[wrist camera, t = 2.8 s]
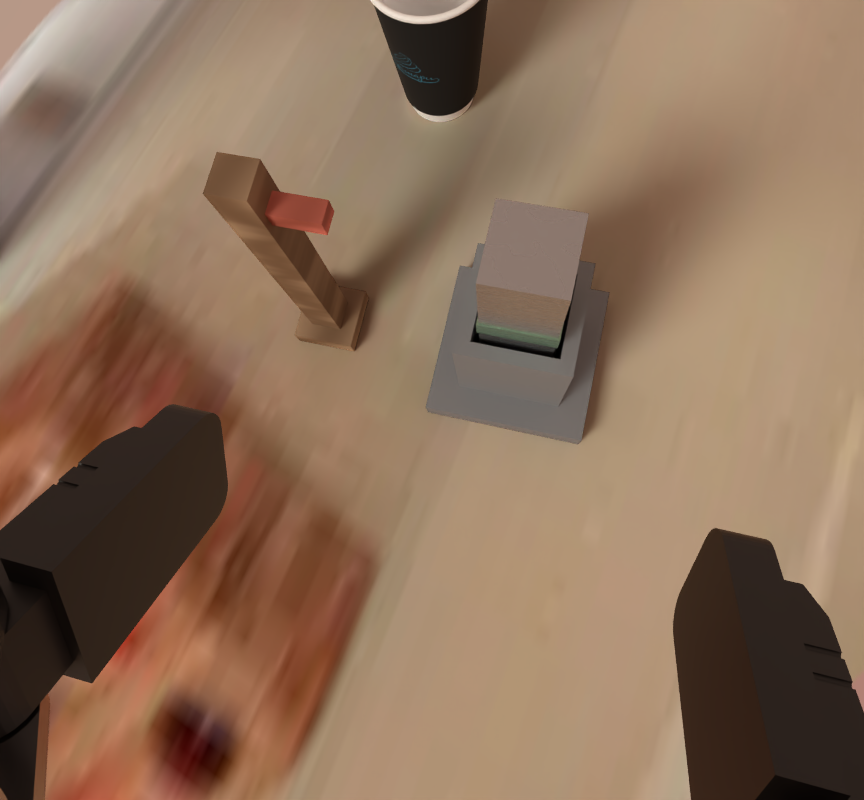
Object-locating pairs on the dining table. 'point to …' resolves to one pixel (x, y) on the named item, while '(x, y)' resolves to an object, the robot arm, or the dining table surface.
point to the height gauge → (287, 247)
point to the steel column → (528, 276)
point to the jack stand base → (519, 366)
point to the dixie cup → (435, 51)
